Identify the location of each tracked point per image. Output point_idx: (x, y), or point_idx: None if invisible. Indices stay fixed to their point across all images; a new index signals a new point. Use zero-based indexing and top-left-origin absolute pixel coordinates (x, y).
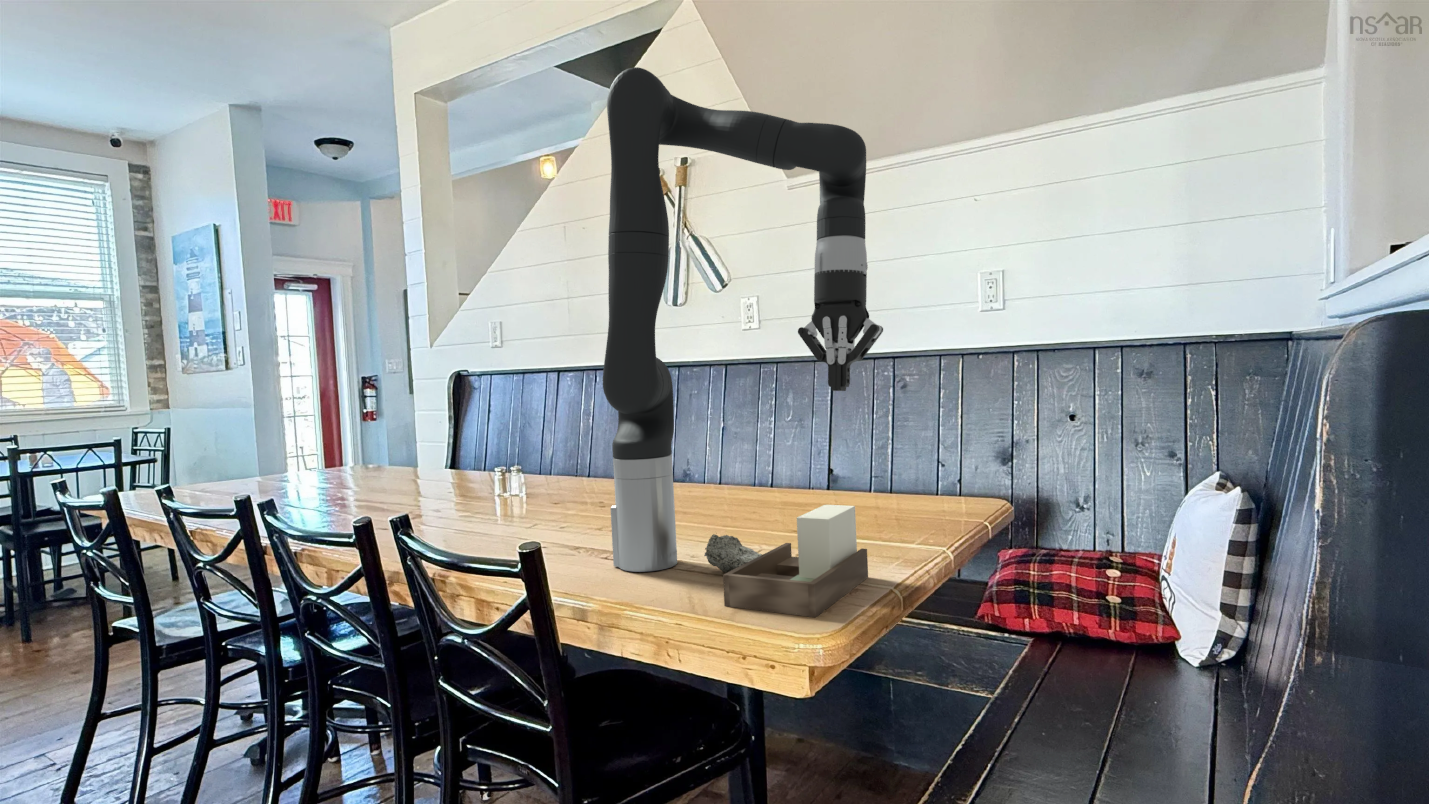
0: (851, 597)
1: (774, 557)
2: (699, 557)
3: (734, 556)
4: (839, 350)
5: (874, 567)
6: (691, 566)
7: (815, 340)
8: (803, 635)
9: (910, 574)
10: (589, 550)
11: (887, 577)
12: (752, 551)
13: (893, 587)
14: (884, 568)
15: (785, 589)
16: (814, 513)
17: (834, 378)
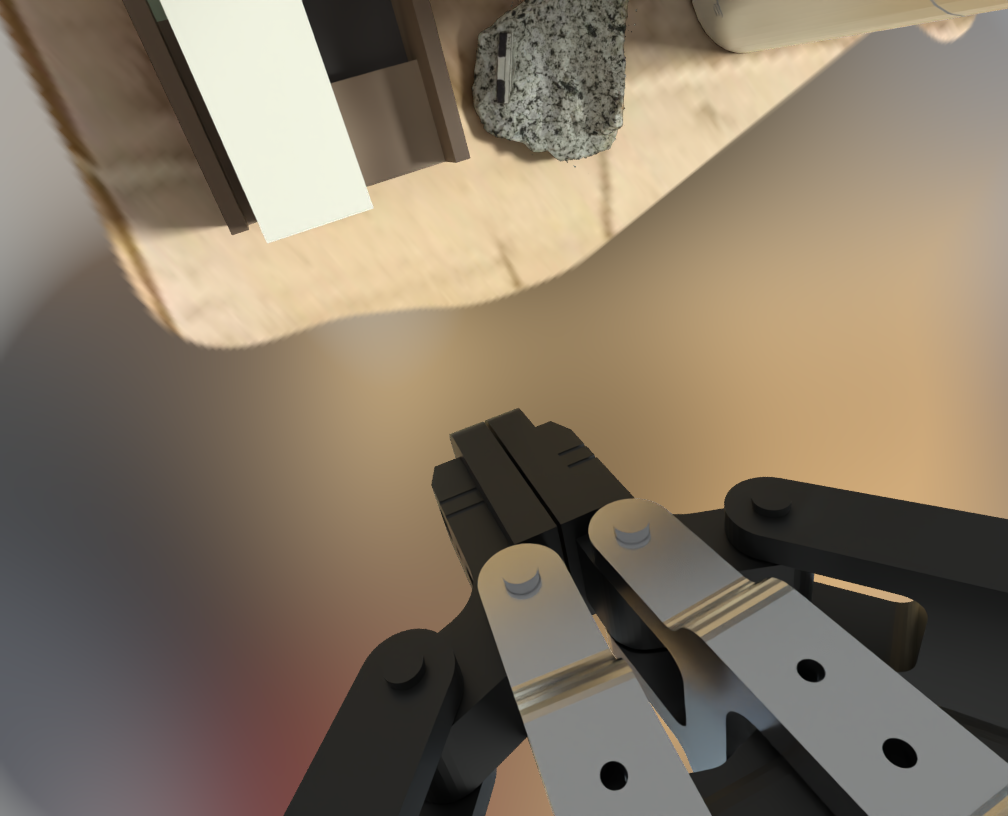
0: (109, 19)
1: (417, 39)
2: (692, 116)
3: (542, 24)
4: (595, 646)
5: (291, 312)
6: (658, 29)
7: (994, 654)
8: None
9: (170, 316)
10: None
11: (193, 255)
12: (556, 133)
13: (103, 182)
14: (264, 320)
15: None
16: (277, 30)
17: (522, 451)
